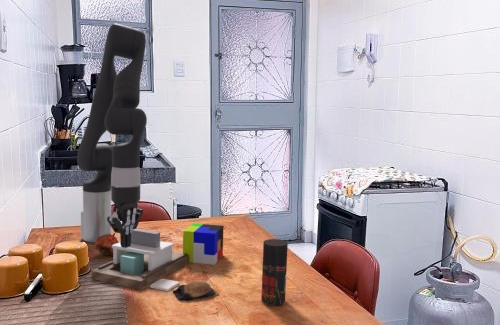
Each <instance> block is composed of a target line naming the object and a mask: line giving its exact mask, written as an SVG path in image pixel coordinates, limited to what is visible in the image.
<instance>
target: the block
mask: <svg viewBox="0 0 500 325" xmlns="http://www.w3.org/2000/svg"><path fill="white" fill-rule="evenodd" d="M120 272H123V273H128V274H133V275H138V276H139V275H141V274H143V273H144V254H141V253H136V252H129V253H126V254H124V255H122V256H120Z"/></svg>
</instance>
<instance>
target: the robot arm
mask: <svg viewBox="0 0 500 325" xmlns="http://www.w3.org/2000/svg"><path fill="white" fill-rule="evenodd" d="M146 42H147V39H146V34H145V32H143V30H140V29H137V28H135V27H130V26H126V25H125V24H124V25H123V24H119V23H112V24H111V25H110V27H109V29H108V31H107V34H106V40H105V46H104V51H103V56H102V62H101V66H100V70H99V75H98V80H97V84H96V86H95V90H94V94H93V97H92V102H91V105H90V106H91V107H90V112H89V116H88V119H87V123H86V126H85V130H84V132H83V133H84V134H83V136H82V138H81V140H80V141H81V142H80V144H79V147H78V150H77V155H76V156H77V157H76V158H77V159H76V162H77V166H78V168H79V169H80V170H81V171H83V172H96V174H95V175H94V176H92V177H91V178H89V179H87V180H85V181H84V182H83V183H82V211H81V212H80V238H81V240H83V241H85V242H86V243H87V242H88V243H96V240H97V238H98V237H100V236H102V235H105V234H111V235H112V231H113V232H114V233H115V234H119V236H120V238H119V240H120V244H121V247H124V248H127V247H130V246H131V233H132V232H133V230H134V229H138V226H139V224H140V223H139V222H140V221H141V218H142V216H143V213H144V209H142V208H139V205H138V202H140V201H141V172H140V171H141V170H140V169H141V168H140V166H141V165H140V160H141V159H140V156H141V154H140V153H141V152H140V151H141V143H142V140H143V136H144V133H145V131H146V130H145V129H146V127H147V121H148V118H147V114H146V113H145V111H144V110H143V109H142V108H138V107H139V105H140V101H141V100H140V98H141V97H140V95H141V91H140V90H141V88H140V87H141V83H140V82H141V76H142V70H143V65H144V58H145V54H146V44H147V43H146ZM115 57H119V58H124V59H128V60H131V61H130V62H129V63H128V64H127V65H126V66H125V67H124V68H122V69H121V70H120V71H119V72H118V73H117V71H116V67H115V66H116V65H115ZM106 132H108V133H109V134H110V135H114V136H132V138H131V140H130V141H128V142H127V141H126V142H124V143H123V142H122V143H118V144H115V145H114V146H113V147H112V146H111V145H110V144H109V143H104V142H103V143H99V140H100V139H101V138H102V136H103V135H104V134H105V133H106ZM112 203H113V204H114V205H113V209H112ZM112 212H113V213H112Z"/></svg>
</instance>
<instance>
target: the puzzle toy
mask: <svg viewBox="0 0 500 325" xmlns="http://www.w3.org/2000/svg"><path fill="white" fill-rule="evenodd" d="M182 234H183V235H182V253H183V254H185V253H187V255H189V263H192V264H193V263H194V264H200V265H201V264H202V265H203V264H204V265H212V266H213V265H214V266H215V265H216V264H217V262H218V261H219V260H220V259H221V258H222V256H223V255H224V254H223V253H224V225H219V224H206V223H194V222H193V223H192V224H191V225H189V226H187V228H185V229H184V230H183V232H182Z"/></svg>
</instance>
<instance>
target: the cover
mask: <svg viewBox="0 0 500 325" xmlns="http://www.w3.org/2000/svg"><path fill="white" fill-rule="evenodd" d="M118 242H119V241H118ZM173 247H174V243H173V242H167V241H162V240H161V232H160V231H154V230H147V229H141V228H136V229H134V230H133V232H132V233H131V246H130V247H127V248H124V247H121V244H120V242H119V243H117V244H114V245H112V248H113V256H112V257H113V259H112V261H113V264H118V263H120V256H122V255H124V254H126V253H129V252H136V253H141V254H147V255H148V271H152V270H154V269H156V268H158V267H160V266H162V265H164V264H166V263H168V262H169V261H171V260H172V251H173Z"/></svg>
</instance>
